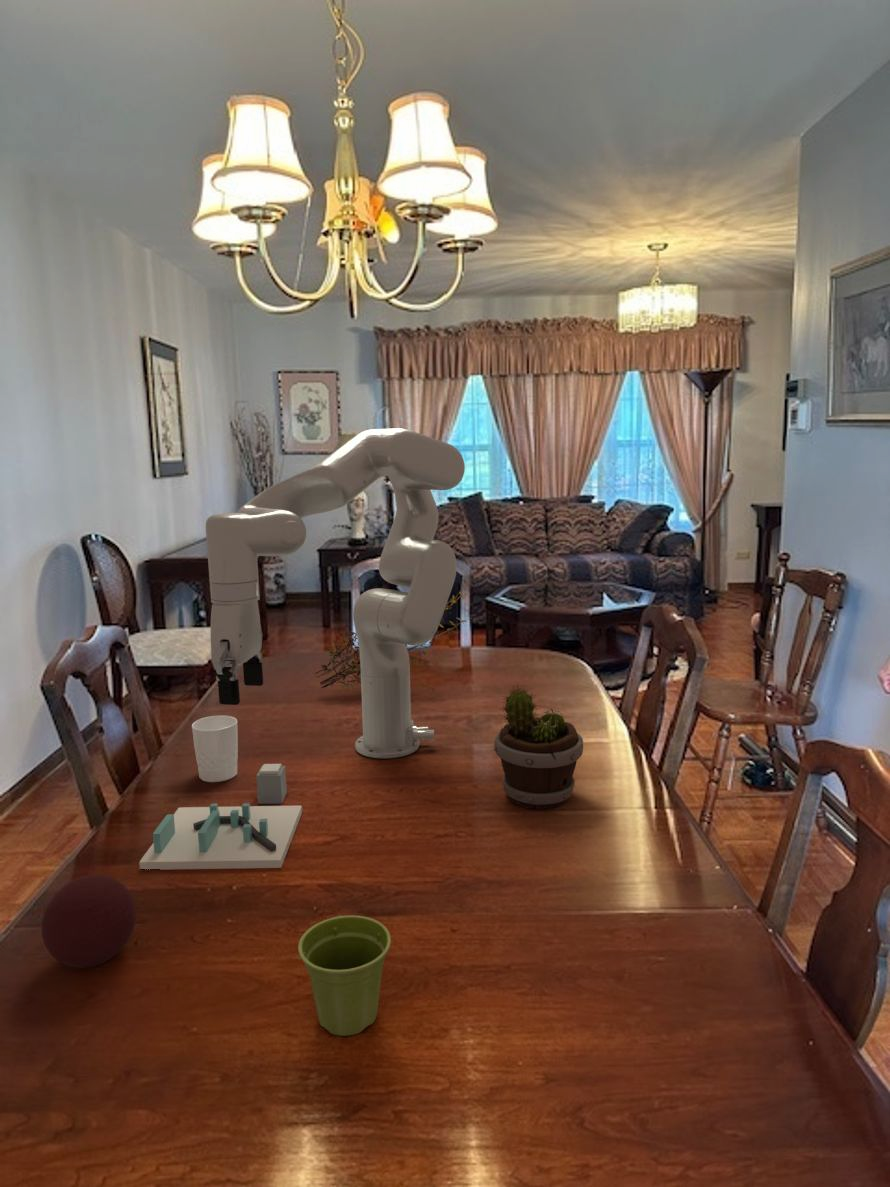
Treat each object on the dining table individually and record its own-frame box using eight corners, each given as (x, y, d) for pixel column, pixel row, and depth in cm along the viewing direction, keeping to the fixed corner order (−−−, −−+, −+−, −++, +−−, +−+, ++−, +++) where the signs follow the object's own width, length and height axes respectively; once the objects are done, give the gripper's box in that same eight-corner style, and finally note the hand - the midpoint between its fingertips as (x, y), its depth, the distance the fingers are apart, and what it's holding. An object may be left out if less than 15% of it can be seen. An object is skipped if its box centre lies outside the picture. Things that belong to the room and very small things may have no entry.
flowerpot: (592, 785, 136) (594, 674, 132) (567, 824, 123) (569, 702, 119) (513, 772, 142) (513, 665, 138) (481, 808, 129) (480, 690, 125)
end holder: (218, 832, 119) (216, 813, 119) (206, 852, 114) (204, 833, 113) (168, 832, 119) (167, 814, 119) (154, 853, 114) (152, 833, 113)
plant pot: (306, 988, 87) (302, 917, 85) (392, 982, 87) (389, 911, 86) (298, 1053, 77) (293, 974, 76) (394, 1045, 78) (391, 967, 76)
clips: (275, 816, 124) (274, 802, 124) (264, 842, 116) (263, 827, 116) (212, 817, 124) (211, 803, 124) (196, 843, 116) (195, 828, 116)
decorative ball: (147, 966, 91) (140, 887, 89) (51, 999, 85) (41, 916, 84) (130, 923, 99) (123, 850, 97) (42, 950, 94) (32, 874, 92)
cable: (296, 835, 118) (296, 830, 118) (272, 852, 113) (272, 846, 113) (217, 814, 125) (217, 809, 125) (192, 829, 120) (191, 824, 120)
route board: (302, 812, 128) (301, 805, 128) (281, 867, 111) (280, 859, 111) (179, 814, 128) (178, 807, 128) (140, 870, 111) (139, 862, 111)
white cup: (228, 785, 139) (224, 731, 137) (187, 782, 140) (183, 729, 138) (248, 767, 146) (244, 716, 144) (209, 764, 148) (205, 714, 146)
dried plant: (289, 640, 168) (474, 547, 173) (293, 621, 199) (451, 542, 203) (353, 762, 173) (532, 668, 177) (348, 725, 204) (501, 645, 208)
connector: (286, 793, 135) (284, 762, 134) (282, 803, 131) (280, 772, 130) (263, 793, 135) (261, 762, 134) (258, 803, 131) (256, 772, 130)
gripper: (235, 581, 134) (241, 678, 137) (187, 602, 117) (196, 711, 121) (277, 582, 133) (282, 679, 136) (235, 602, 116) (242, 713, 119)
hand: (242, 694), depth 128 cm, fingers open, 9 cm apart
